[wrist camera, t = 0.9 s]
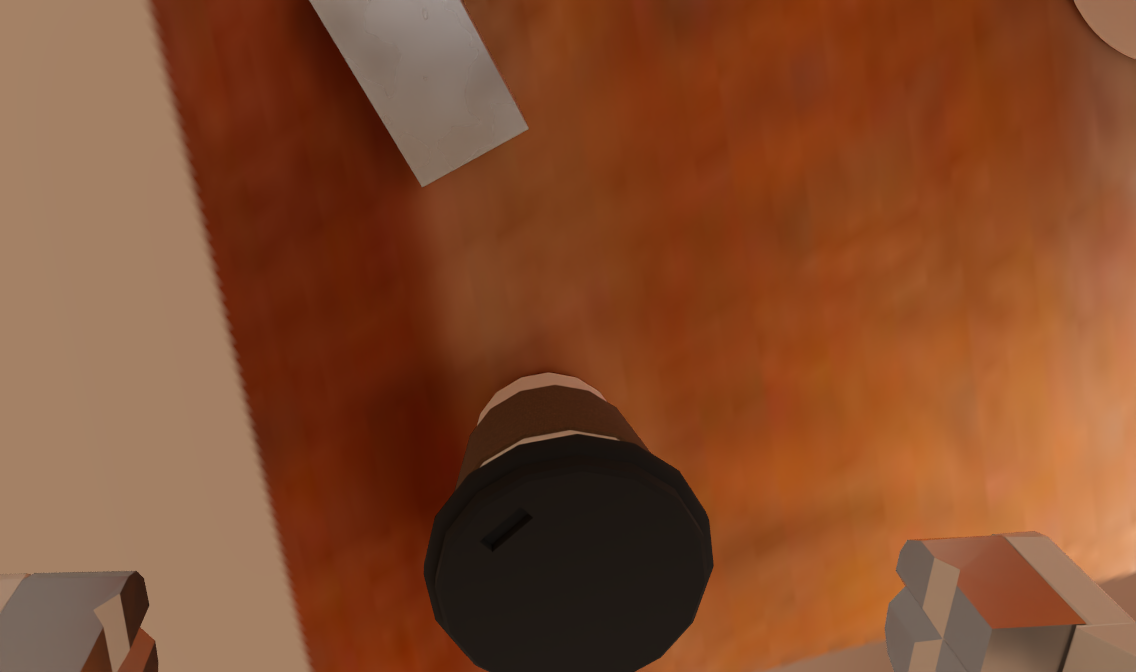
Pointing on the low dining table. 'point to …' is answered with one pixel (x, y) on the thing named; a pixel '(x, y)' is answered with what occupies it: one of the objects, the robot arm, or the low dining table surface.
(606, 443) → the coffee cup
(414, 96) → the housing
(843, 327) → the low dining table surface
